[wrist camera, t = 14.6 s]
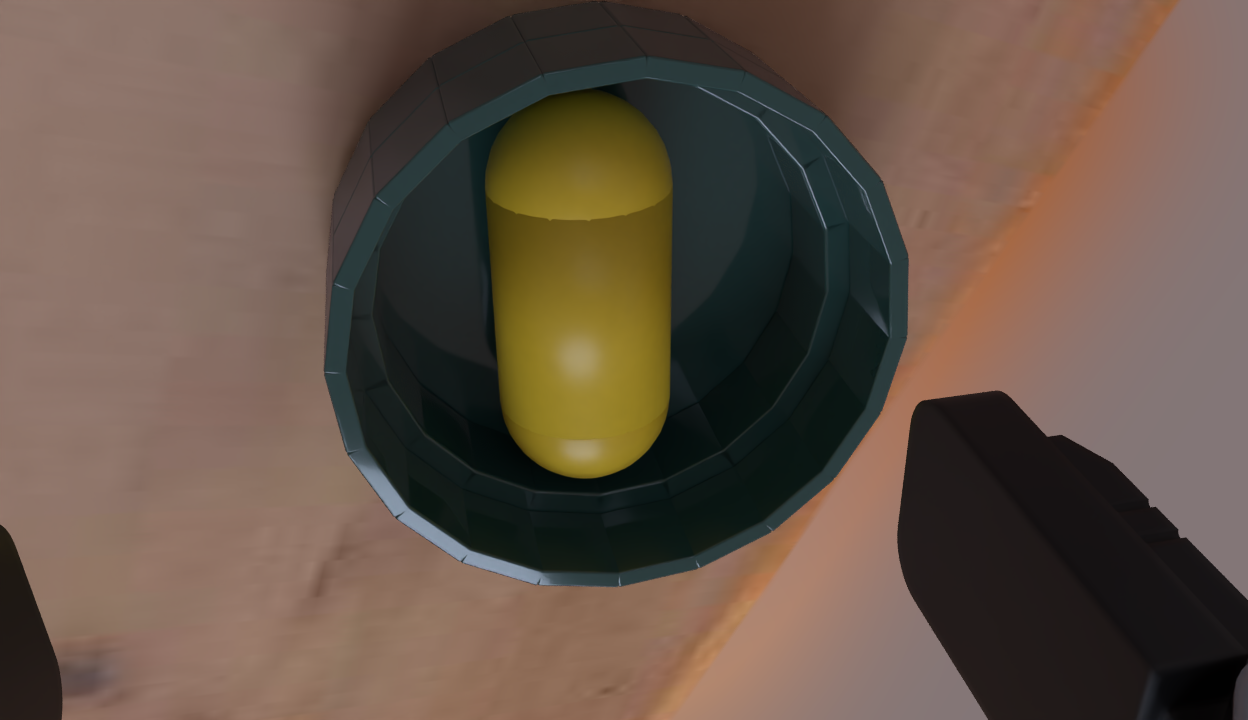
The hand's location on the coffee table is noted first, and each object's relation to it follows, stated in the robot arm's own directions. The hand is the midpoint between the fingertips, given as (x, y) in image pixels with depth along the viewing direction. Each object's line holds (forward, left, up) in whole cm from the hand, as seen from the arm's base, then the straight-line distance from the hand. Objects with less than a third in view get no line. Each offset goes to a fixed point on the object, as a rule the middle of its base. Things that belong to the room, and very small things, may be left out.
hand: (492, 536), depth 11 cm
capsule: (+3, +9, -19) cm, 21 cm away
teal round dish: (+4, +7, -21) cm, 23 cm away
